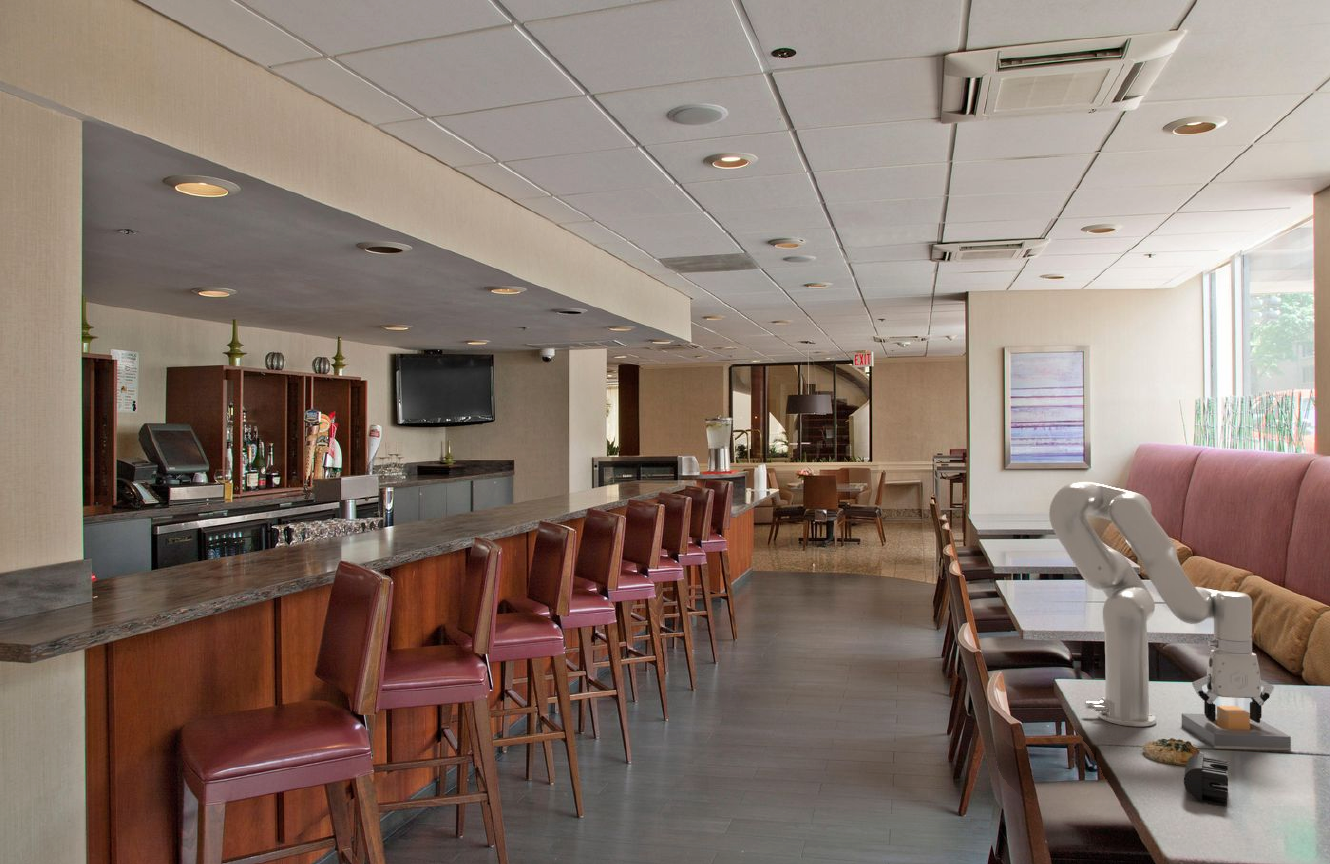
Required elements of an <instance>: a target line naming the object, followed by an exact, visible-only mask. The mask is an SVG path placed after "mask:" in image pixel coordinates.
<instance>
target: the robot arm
mask: <svg viewBox="0 0 1330 864" xmlns="http://www.w3.org/2000/svg"><path fill="white" fill-rule="evenodd" d="M1048 513H1049V516H1048V517H1049V522H1050V525H1051V528H1052V530H1053V532H1054V533H1055V535H1056V537H1057V538H1058V540H1059V542H1060V543H1061V544H1062V546H1063V548H1064V550H1065V552H1066V553H1067V555H1068V556H1069V558H1070V559H1071V561H1072V562H1073V563H1074V566H1075V567H1076V569H1077V570H1078V572H1079V574H1080V576H1081V577H1082V579H1083V580H1084V581H1085V583H1086V584H1087V585H1088V586H1089V587H1091V588H1093V589H1096V590H1100V591H1101V590H1102V591H1103V593H1104V595H1105V596H1106V597H1107V598H1106V600H1105V602H1104V604H1103V607H1102V622H1103V632H1104V654H1105V656H1104V657H1105V660H1104V661H1105V664H1104V665H1105V666H1104V667H1105V670H1104V671H1105V674H1104V675H1105V696H1102V697H1101V699H1100V700H1098V701H1094V700H1093V701H1092V700H1091V701H1090V700H1088V701H1084V708H1085V710H1093V711H1094V712H1098V716H1099V718H1100V719H1102V720H1103V721H1106V722H1108V723H1112V724H1116V725H1121V726H1126V727H1127V726H1128V727H1136V728H1137V727H1149V726H1150V727H1151V726H1154V725H1155V724H1157V718H1156V716H1155V715H1153V713H1150V701H1149V699H1150V694H1149V689H1150V685H1149V681H1150V680H1149V676H1150V675H1149V641H1148V631H1147V630H1148V629H1147V625H1148V624H1147V623H1148V621H1149V620H1150V619H1151V618H1152V616H1153V615H1154V613H1155V609H1156V606H1155V600H1154V597H1153V596H1152V594H1151V593H1150V590H1148V588H1147V586H1146V584H1144V582H1143V580H1142V579H1141V578H1140V577H1141V576H1139V575H1138V572H1137V571H1136V570H1135V569H1134V567H1133V566H1132V564H1131V563H1130V562H1129V560H1128V559H1127V558H1126V557H1125V556H1124V555H1123V554H1122V553H1121V552H1120V551H1117V550H1115V549H1111V548H1107V547H1106V545H1105V543H1103V541H1102V540H1101V538H1100V537H1099V535H1098V533H1097V532H1096V531H1095V529H1094V528H1093V527H1092V526H1091V525H1090V523H1089V522H1088V519H1087V516H1089V515H1090V516H1093V517H1097V518H1101V519H1105V520H1109V521H1111V523H1112V524H1113V525H1114V528H1116V530H1117V531H1118V532H1119V534H1120V535H1121V536H1122V537H1123V539H1124V540H1125V542H1126V543H1127V545H1128V546H1129V548H1130V549H1131V551H1132V552H1133V553H1134V554H1135V556H1136V558H1138V560H1139V561H1140V563H1141V565H1142V567H1143V570H1144V571H1145V573H1146V575H1147V577H1148V579H1150V580H1149V581H1150V582H1151V584H1152V585H1153V587H1154V589H1155V590H1156V592H1157V594H1158V595H1159V596H1160V598H1161V600H1162V601H1163V602H1164V603H1165V605H1166V606H1167V607H1168V608H1169V610H1170V611H1171V612H1172V614H1173V615H1174V616H1175V617H1176V618H1177V619H1179V620H1180V621H1181V622H1184V623H1186V624H1189V625H1197V624H1200V623H1203V621H1206V619H1207V620H1208V619H1212V620H1213V636H1212V639H1211V640H1208V641H1207V645H1208V647H1211V648H1212V649H1211V650H1210V653H1209V657H1208V662H1207V667H1206V668H1207V670H1206V676H1204V677H1203V676H1202V677H1201V678H1198V679H1197V680H1194V681H1193V682H1192V683H1191V685H1192V687H1193V689H1194V691H1195V693H1196V694H1197V695H1198V697H1200V699H1201V700H1202V701H1203V702H1204V703H1203V706H1204V707H1203V708H1204V713H1203V714H1205V716H1206V718H1207V719H1209V720H1211V721H1215V720H1216V714H1217V705H1216V704H1215V703H1214V702H1215V701H1216V700H1217V699H1218V697H1221V698H1234V699H1235V698H1237V699H1238V698H1239V699H1250V700H1251V701H1250V702H1249V713H1250V719H1251V720H1253V721H1255V722H1256V723H1260V720H1261V719H1262V706H1264V705H1265V702H1266V701H1267V700H1268V699H1270V696H1271V694H1272V693H1273V691H1274V688H1275V686H1274V685H1272V684H1270V683H1269V682H1267V681H1265V680H1262V679H1261V671H1260V665H1259V660H1258V656H1257V654H1256V653H1254V652H1253V601H1252V598H1251V596H1250V595H1249V594H1247V593H1244V592H1240V591H1239V592H1238V591H1229V590H1227V591H1220V590H1215V589H1209V588H1205V587H1202V586H1195V585H1194V584H1193V583H1192V582H1191V580H1190V578H1189V576H1187V573H1185V571H1184V569H1183V568H1182V565H1181V563H1180V560H1179V557H1178V554H1177V549H1176V546H1175V544H1174V542H1173V541H1172V539H1171V538H1170V537H1169V535H1168V534H1167V533H1166V531H1165V529H1163V527H1162V526H1161V525H1160V524H1159V522H1158V521H1157V519H1156V518H1155V517H1154V516H1153V514H1152V505H1151V503H1150V500H1148V498H1147V497H1145V496H1144V495H1143V494H1141V493H1137V492H1136V491H1134V492H1133V491H1130V490H1125V489H1121V488H1116V487H1112V486H1108V485H1105V484H1100V483H1096V482H1092V481H1078V482H1073V483H1072V482H1071V483H1069V484H1066V485H1064V486H1063V487H1061V488H1060V489H1059V490H1058V491H1057V492H1056V494H1055V495H1054V496H1053V498H1052V500H1051V503H1050V506H1049V512H1048ZM1205 685H1206V689H1207V690H1206V692H1205V691H1204V690H1203V687H1204V686H1205ZM1262 687H1263V689H1262Z"/></svg>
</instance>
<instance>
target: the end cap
mask: <svg viewBox="0 0 1330 864" xmlns="http://www.w3.org/2000/svg"><path fill="white" fill-rule="evenodd" d="M1228 771H1229V762H1228V761H1226V760H1220V759H1213V758H1206V757H1205V754H1204V753H1201V752H1200V753H1199V754H1195V755H1193V756H1191V757H1190V758H1189V759H1188V761H1187V764H1186V766H1185V770H1184V774H1183V786H1184V789H1185V790H1186V791H1187V793H1188V794H1189V795H1190V796H1191V797H1193V799H1195V800H1196V801H1198V803H1201V804H1205V803H1206V805H1210V804H1211V805H1212V806H1215V807H1216V806H1217V807H1221V808H1228V802H1229V801H1228V799H1229V798H1228V797H1229V776H1228Z"/></svg>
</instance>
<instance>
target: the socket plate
mask: <svg viewBox="0 0 1330 864" xmlns="http://www.w3.org/2000/svg"><path fill="white" fill-rule="evenodd" d="M1181 727H1182V728H1185V729H1186V730H1187V731H1188V732H1190V733H1191V734H1193V735H1195V736H1196V737H1197V738H1199V739H1201V740H1202V741H1203V742H1205V743H1206V744H1208V746H1210V747H1212V748H1214V749H1231V750H1233V749H1235V750H1239V749H1240V750H1267V751H1270V750H1271V751H1273V750H1274V751H1291V750H1292V749H1291V748H1292V738H1291V737H1292V736H1291V735H1289V734H1286V733H1285V732H1283V731H1281V730H1279V729H1277V728H1276V727H1274V726H1272V725H1271V724H1269V723H1267V722H1265V721H1263V720H1261V719H1260V723H1256V722H1255V721H1253V720H1251V719H1250V730H1236V729H1222V728H1220V727H1218V726H1217V713H1216V720H1215V721H1211V720H1209V719H1207V718H1206V716H1205V714H1204V713H1181Z"/></svg>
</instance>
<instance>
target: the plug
mask: <svg viewBox="0 0 1330 864" xmlns="http://www.w3.org/2000/svg"><path fill="white" fill-rule="evenodd" d="M1216 714H1217V726H1218V727H1220V728H1222V729H1236V730H1250V711H1249V712H1248V711H1246V710H1245V709H1244V708H1241V707H1240V706H1237V705H1216Z"/></svg>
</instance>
